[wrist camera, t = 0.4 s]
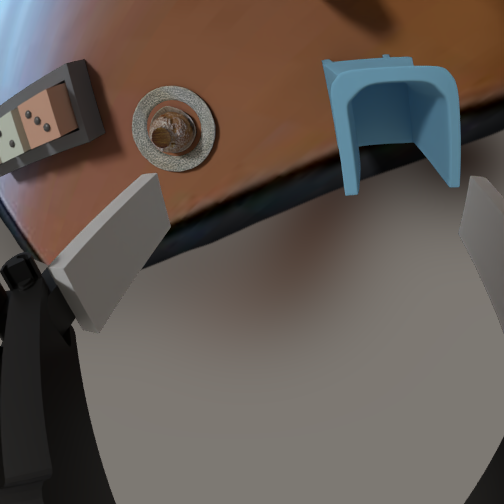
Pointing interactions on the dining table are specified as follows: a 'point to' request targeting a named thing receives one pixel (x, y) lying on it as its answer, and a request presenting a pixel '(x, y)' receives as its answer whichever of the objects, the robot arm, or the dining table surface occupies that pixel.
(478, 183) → the robot arm
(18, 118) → the key
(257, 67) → the dining table surface
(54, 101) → the key
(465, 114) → the dining table surface
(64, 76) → the keypad
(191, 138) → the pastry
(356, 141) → the vase
